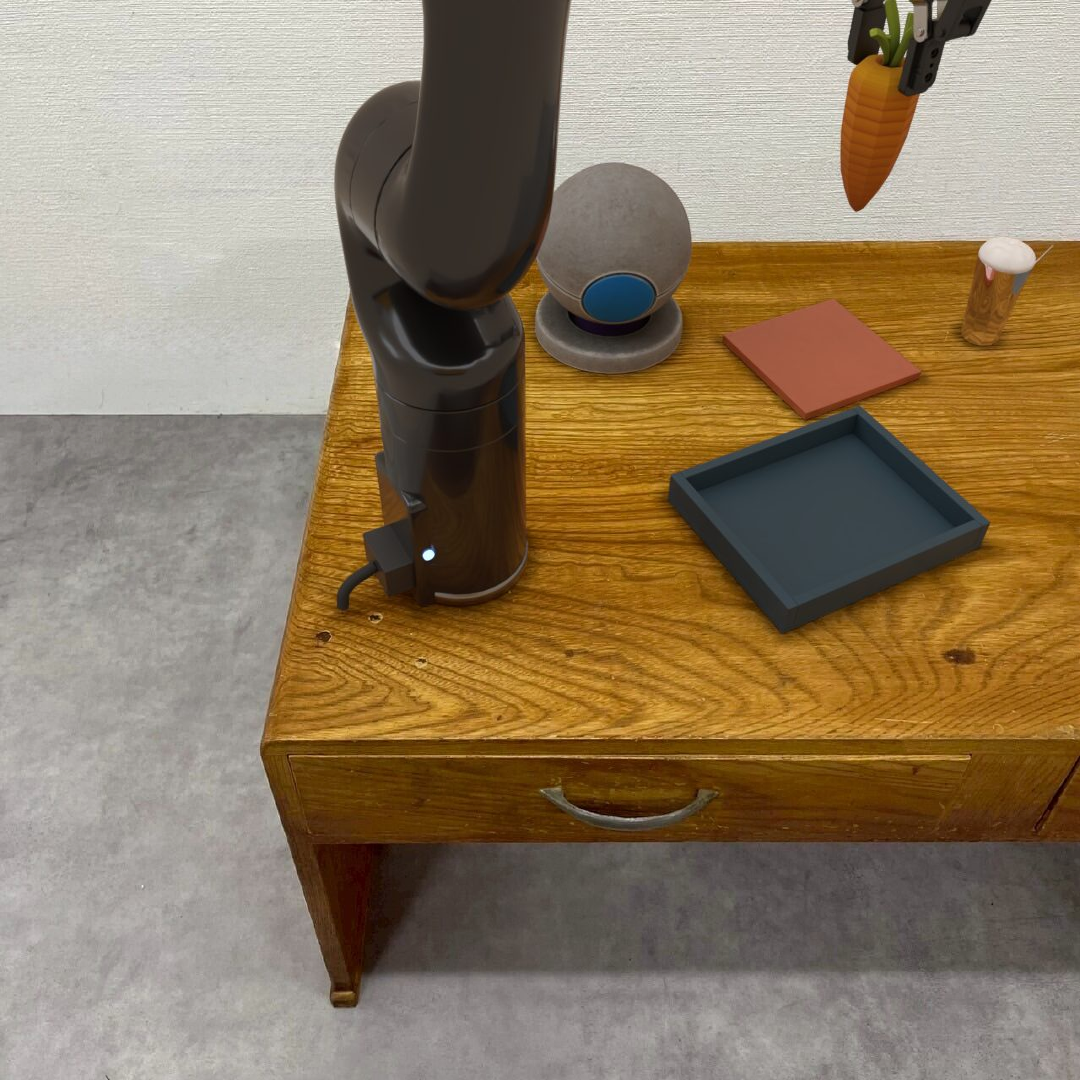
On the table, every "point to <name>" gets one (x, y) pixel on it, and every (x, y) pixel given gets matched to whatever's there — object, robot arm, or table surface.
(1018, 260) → the milkshake
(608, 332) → the webcam
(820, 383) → the tile
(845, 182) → the carrot
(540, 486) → the table surface
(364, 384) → the table surface
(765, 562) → the tray
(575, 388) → the table surface
